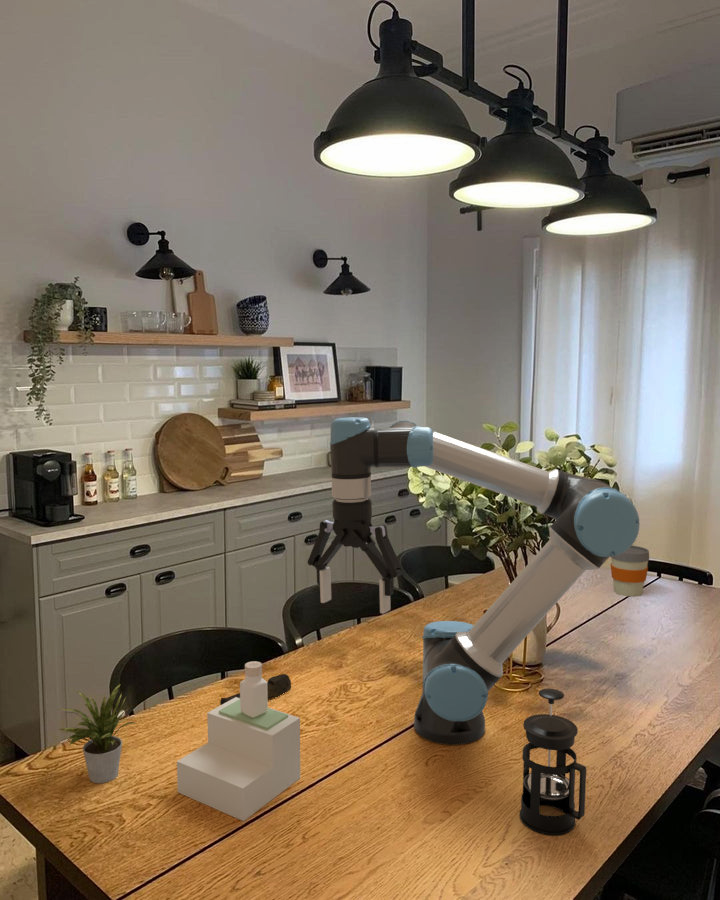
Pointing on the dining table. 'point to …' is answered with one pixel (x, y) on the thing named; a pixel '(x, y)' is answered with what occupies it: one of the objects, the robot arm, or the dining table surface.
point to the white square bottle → (253, 691)
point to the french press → (551, 772)
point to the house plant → (100, 738)
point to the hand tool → (270, 687)
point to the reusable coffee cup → (630, 571)
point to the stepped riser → (242, 760)
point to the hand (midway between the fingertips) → (355, 606)
